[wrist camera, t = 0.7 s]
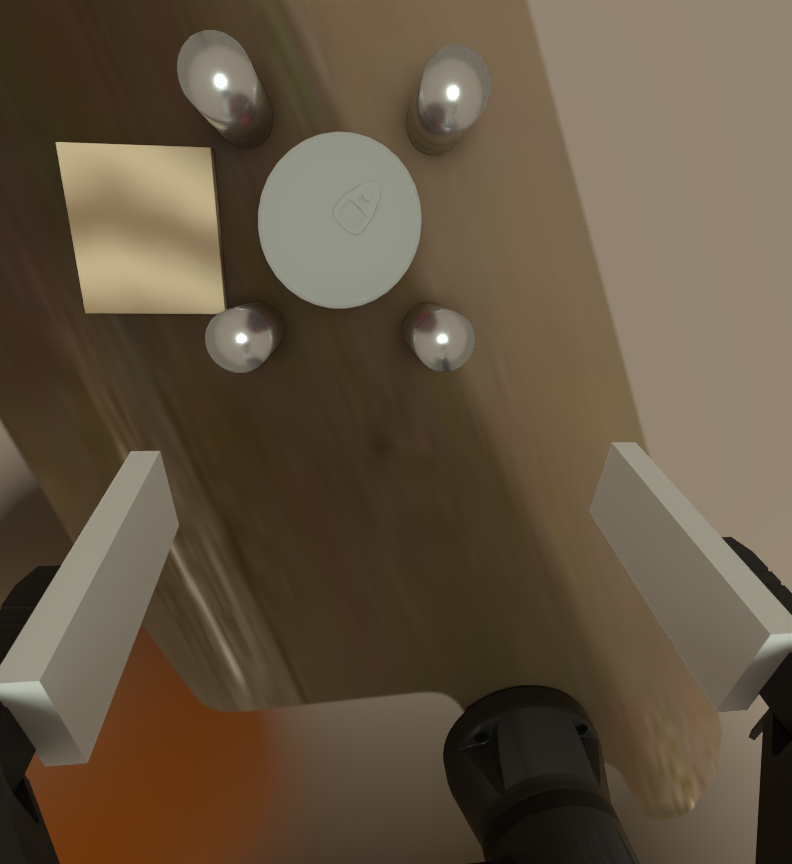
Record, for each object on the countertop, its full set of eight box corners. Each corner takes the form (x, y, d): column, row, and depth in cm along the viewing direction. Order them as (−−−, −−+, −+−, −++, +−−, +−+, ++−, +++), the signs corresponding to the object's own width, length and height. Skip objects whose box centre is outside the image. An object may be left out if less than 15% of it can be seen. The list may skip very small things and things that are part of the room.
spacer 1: (274, 149, 32) (255, 117, 25) (216, 147, 31) (181, 114, 25) (271, 83, 31) (250, 32, 24) (210, 80, 30) (172, 27, 24)
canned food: (419, 210, 34) (452, 183, 23) (367, 317, 36) (375, 338, 25) (315, 149, 32) (300, 91, 22) (265, 265, 34) (230, 264, 23)
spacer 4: (450, 353, 37) (473, 371, 30) (402, 353, 37) (414, 371, 30) (452, 302, 36) (477, 310, 29) (403, 302, 35) (416, 310, 29)
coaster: (227, 313, 35) (225, 314, 34) (91, 312, 34) (85, 313, 33) (213, 150, 31) (210, 147, 31) (62, 145, 31) (55, 142, 30)
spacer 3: (459, 156, 33) (488, 127, 26) (405, 154, 33) (420, 124, 26) (462, 92, 32) (493, 46, 25) (406, 90, 31) (422, 42, 25)
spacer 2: (285, 353, 36) (271, 372, 29) (234, 353, 35) (208, 372, 29) (282, 301, 35) (267, 309, 28) (229, 301, 34) (202, 308, 28)
